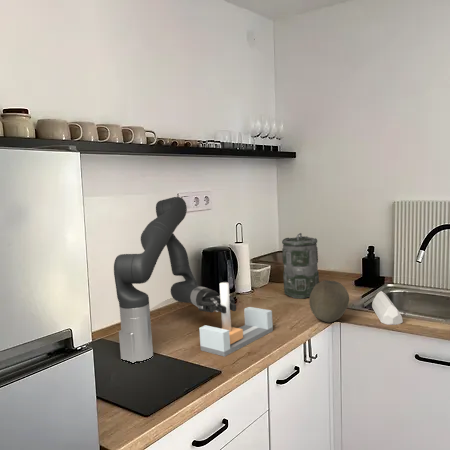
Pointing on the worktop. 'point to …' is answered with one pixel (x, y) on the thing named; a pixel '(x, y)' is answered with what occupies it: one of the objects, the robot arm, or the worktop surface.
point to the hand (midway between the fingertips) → (230, 309)
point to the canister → (300, 266)
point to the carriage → (228, 314)
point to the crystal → (383, 304)
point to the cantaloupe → (328, 300)
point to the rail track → (252, 330)
